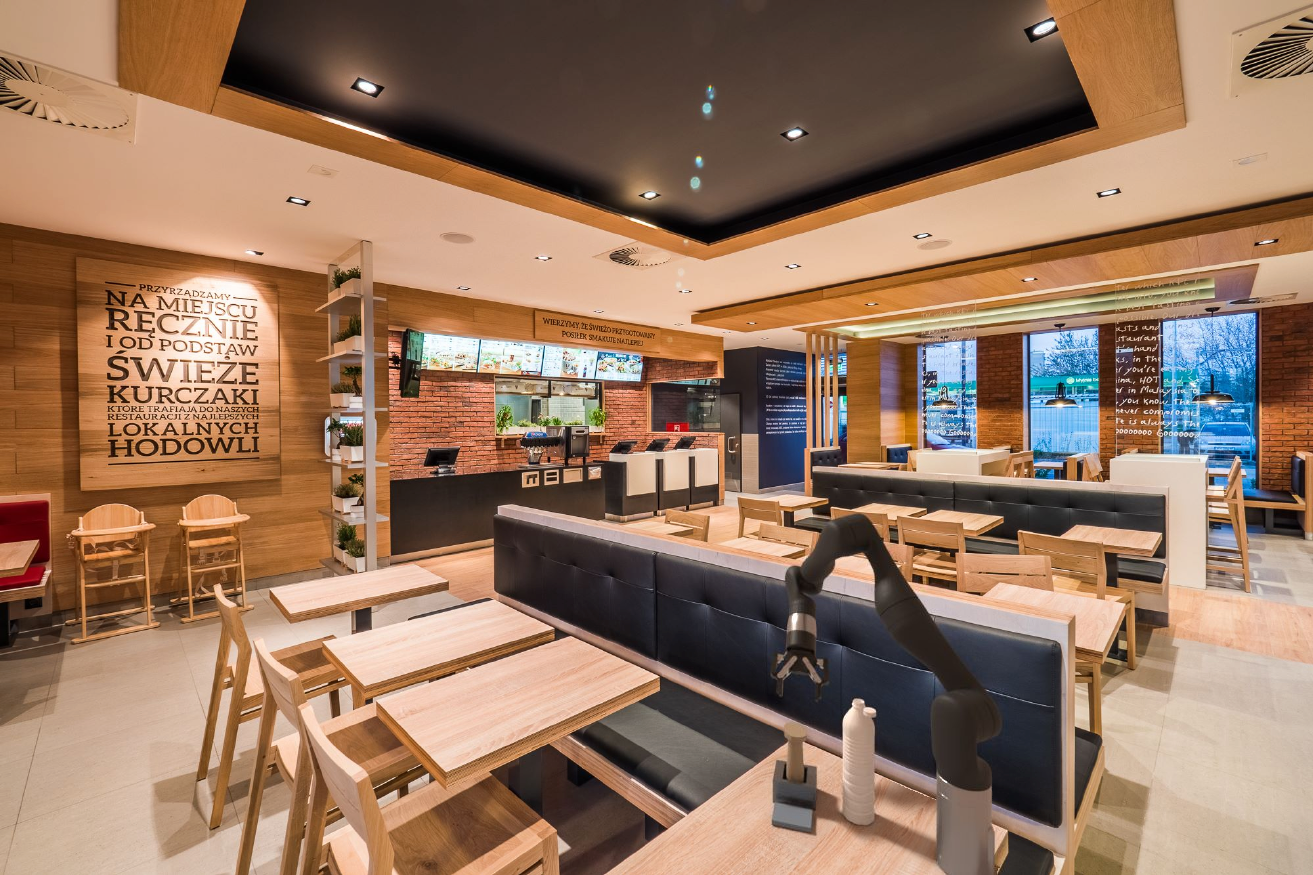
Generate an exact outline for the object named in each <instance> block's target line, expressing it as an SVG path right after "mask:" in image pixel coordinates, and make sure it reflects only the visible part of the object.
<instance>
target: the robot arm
mask: <svg viewBox="0 0 1313 875" xmlns="http://www.w3.org/2000/svg"><path fill="white" fill-rule="evenodd" d="M859 554H863V555H864V556H865V557H866V559H867V561H868V562H869V564H870V566H871V568H872V571H873V575H874V592H873V593H874V600H873V601H874V606H875V611H876V613H877V615H878V617H879V619H880V620H881V621H882V623H883V625H884V626H885V628H886V630H887V632H888V633H889V635H890V637H891V638H892V639H893V640H894V642H896V643H897V644H898V645H899V646H900V647H901V648H903V650H905V651H906V652H907V653H909V654H910V655H911V656H913V657H914V658H915V659H916V660H918V661H919V662H921V663H922V664H923V665H924V666H925V667H926V668H927V669H928V670H929V671H931V672H932V673H933V675H934V677H936V678H937V679H938V681H939V683H940V684H941V687H943V689H944V690H945V691H946V692H944V693H941V694H939V695H938V696H936V697H935V698H934V700H933V702H932V705H931V707H930V708H931V709H930V731H931V749H932V755H933V757H934V760H935V763H936V816H935V817H936V821H935V822H936V824H935V826H936V828H935V829H936V831H935V832H936V834H935V835H936V840H935V841H936V842H935V843H936V844H935V851H936V852H935V854H936V857H935V858H936V861H937V865H938V866H939V867H940V869H941V870H942V871H943V872H945V873H946V874H947V875H995V872H996V871H995V870H996V868H995V864H996V863H995V862H996V856H995V855H996V849H995V848H996V845H995V844H996V842H995V839H996V833H995V830H994V826H993V824H992V817H993V816H992V810H993V809H992V807H993V806H992V805H993V804H992V803H993V801H992V800H993V799H992V798H993V797H992V796H993V791H992V788H993V787H992V786H993V785H992V784H993V777H992V776H993V775H992V774H993V772H992V768H991V767H990V765H989V764H988V762H986V761H985V760H984V759H983V758H981V757H979V756H978V750H977V748H978V747H977V745H978V744H980V743H982V742H985V741H988V740H991V739H993V738H995V737H998V735H999V734H1000V733H1001V732H1002V728H1003V718H1002V715H1001V712H1000V709H999V707H998V706H997V704H996V702H995V701H994V699H993V698H992V696H991V695H990V694H989V692H988V691H987V690H986V688H985V687H984V685H982V683H981V682H980V681H979V680H978V678H977V676H975V675H974V674H973V673H972V671H971V670H970V668H969V667H967V665H966V664H965V662H964V661H963V660H962V658H960V656H959V655H958V653H957V652H956V651H955V650H954V648H953V647H952V645H951V643H950V642H949V640H948V639H947V638H946V636H945V635H944V634H943V632H942V631H941V630H940V628H939V627H938V625H937V623H936V622H935V621H934V619H933V618H932V616H931V614H930V612H929V611H928V609H927V608H926V607H925V605H924V603H923V602H922V601H921V598H920V597H919V595H917V594H916V592H915V591H914V589H913V588H912V586H911V585H910V584H909V582H908V581H907V579H906V578H905V576H904V575H903V573H902V571H901V570H900V569H899V566H898V564H896V562H895V560H894V559H893V557H892V555H891V553H890V551H889V549H888V548H887V546H886V544H885V542H884V540H883V539H882V537H881V535H880V533H879V531H878V529H877V528H876V526H875V525H874V524H873V522H872V521H871V519H870V518H869V517H868V516H867V515H865V514H863V513H861V512H860V513H859V512H857V513H852V514H848V515H843V516H840V517H836V518H833V519H830V520H829V521H827V523H826V524H825V525H824V526H823V527H822V530H821V532H820V534H819V537H818V539H817V541H816V544H815V546H814V548H813V550H812V551H811V553H809V555H808V556H807V557H806V558H805V559H804V560H803V562H802V563H801V565H791V566H789V567H788V568H787V569H786V571H785V573H784V574H785V576H784V584H785V589H786V592H787V596H788V601H789V602H788V603H789V611H788V621H787V625H786V626H787V627H786V641H785V642H786V643H785V652H784V654H780V653H778V652H777V651H773V653H772V658H771V665H770V670H769V672H770V677H771V678H772V679H775V680H776V693H777V695H778V696H779V697H780V698H781V697H783V692H784V680H785V679H786V678H787V677H789V675H790V674H791V673H792V674H793V675H800V676H805V677H806V676H809V678H811V680H812V681H813V682H814V684H815V685H814V702H816V703H819V701H820V700H822V687H823V686H829V685H830V675H829V674H830V673H829V671H830V670H829V659H828V658H827V657H824V658H823V659H821V658H817V656H816V655H817V654H816V652H817V637H818V636H817V635H818V634H817V624H816V621H817V614H816V613H817V604H816V602H815V600H814V599H812V598H811V597H810V596H818V595H819V594H821V593H822V590H823V587H824V581H825V580H826V579H827V578H828V577H829V576H830V575H831V573H833V571H834V569H835V567H836V560H838V559H841V558H847V557H852V556H855V555H859ZM808 595H809V596H808ZM782 661H783V662H784V663H785V665H784V666H783V667H782V668H781V670H780V671H779V672H777V670H778V669H777V668H778V664H780V663H781V662H782ZM817 665H819V668H820V669H822V670H823V677H820V676H819V675H818V673H817V670H815V668H816V667H817Z"/></svg>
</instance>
